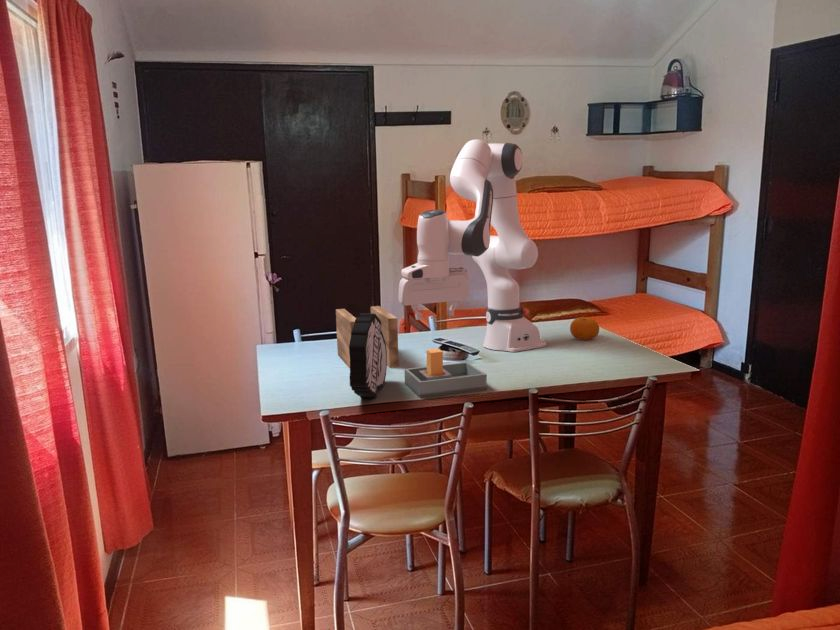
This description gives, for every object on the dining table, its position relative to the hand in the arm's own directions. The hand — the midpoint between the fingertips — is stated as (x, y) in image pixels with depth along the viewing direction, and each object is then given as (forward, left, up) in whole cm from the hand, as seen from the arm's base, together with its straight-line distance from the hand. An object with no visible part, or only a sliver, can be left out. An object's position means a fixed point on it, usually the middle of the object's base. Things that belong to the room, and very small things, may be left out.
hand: (434, 317), depth 189 cm
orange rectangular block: (0, 0, -20) cm, 20 cm away
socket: (0, 0, -21) cm, 21 cm away
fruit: (-71, -34, -21) cm, 81 cm away
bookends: (+11, -36, -21) cm, 43 cm away
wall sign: (+19, -1, -21) cm, 28 cm away
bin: (-3, 0, -21) cm, 21 cm away
